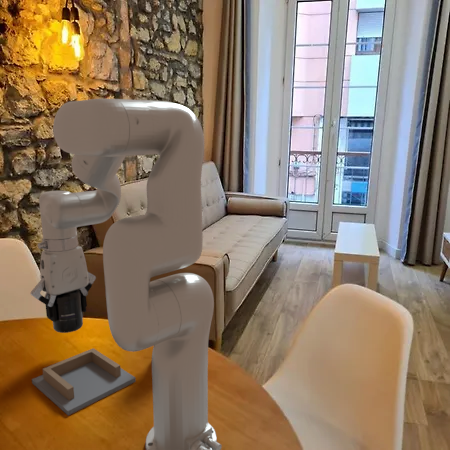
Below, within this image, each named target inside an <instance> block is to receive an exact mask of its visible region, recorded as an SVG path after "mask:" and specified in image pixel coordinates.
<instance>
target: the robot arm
mask: <svg viewBox="0 0 450 450" xmlns="http://www.w3.org/2000/svg"><path fill="white" fill-rule="evenodd" d="M52 128H53V129H52V131H53V137H54V141H55V142H56V144H57V146H58V147H59V148H60V150H62V151H63V152H65V153H68V154H70V155H73V157H72V160H71V168H72V172H73V174H75V176H76V177H77V178H78V179H79V180H80V182H82V183H84V184H85V185H88V186H89V187H92V188H95V190H87V191H78V192H70V191H68V190H51V191H45V192H43V193H40V196H39V199H38V201H39V202H38V203H39V210H40V212H39V213H40V221H41V222H40V223H41V231H42V241H41V242H39V243H37V247H38V249H39V250H42V251H41V255H40V264H39V265H40V270H39V274H40V275H39V277H40V278H39V279H40V280H39V281H38V283H37V284H36V285H35V286H34V288H33V289H32V290H31V292H30V295H31V296H32V297H33V298H35V299H37V301H38V302H39V301H40V302H41V304H42V303H43V304H44V305H45V313H46V318H47V319H49V320H50V322H52V323H53V322H56V321H57V312H56V306H55V305H54V301H55V298H56V295H60V294H64V293H67V292H71V291H74V290H79V291H80V293H81V303H82V313H85V312H87V306H88V304H87V303H88V302H87V296H88V295H89V291H90V290H91V288H92V286H93V284H94V282H95V281H96V279H97V277H96V275H94V274H93V273H91V272H89V271H88V267H87V262H86V261H87V260H86V257H85V254H84V251H83V247H82V246H79V241H78V229H77V228H78V227H83V226H84V227H85V226H90V225H97V224H102V223H105V222H107V221H108V220H109V219H110V218H111V217H112V216H113V215H114V213H115V211H116V210H117V208H118V207H119V205H120V203H121V198H122V186H121V182H120V179H119V177H118V175H117V173H118V171H119V169H120V167H121V166H122V164H123V162H124V161H125V159H126V157H127V156H128V157H129V156H130V157H131V156H132V157H133V156H147V155H158V156H159V157H158V158H157V159H156V161H155V162H154V164H153V166H152V168H151V170H150V173H149V175H148V178H147V181H146V201H147V205H146V206H147V207H146V211H145V213H144V214H139V215H134V216H127V217H124V218H122V219H119V220H117V221H115V222H114V223H112V224H111V225H110V227H109V228H108V230H107V231H106V232H105V236H104V240H103V245H102V261H103V273H104V274H103V275H104V286H105V287H104V288H105V289H104V290H105V298H106V299H105V300H106V303H105V304H106V312H107V321H108V325H109V326H108V327H109V330H110V334H111V336H112V339H113V340H114V342H115V343H116V344H117V346H118V347H120V348H121V349H122V350H124V351H126V352H133V353H134V352H140V351H142V350H145V349H149V348H152V347H153V349H152V354H151V378H152V379H151V380H152V381H151V382H152V407H153V409H152V410H153V411H152V412H153V426H152V427H151V428H150V430H149V432H148V433H147V434H146V437H145V450H222V446H223V445H222V444H221V443H219V442H218V441H217V438H218V437H217V433H216V430H215V428H214V427H213V426H212V425H211V424H210V423H209V416H208V415H209V406H208V405H209V404H208V403H209V400H208V397H209V396H208V395H209V392H208V391H209V387H208V385H209V384H208V382H209V381H208V380H209V379H208V378H209V375H208V374H209V371H208V370H209V368H208V365H209V337H210V332H211V331H210V330H211V325H212V320H213V315H214V309H215V308H214V306H215V302H214V301H215V299H214V298H215V297H214V293H213V290H212V288H211V286H210V284H209V282H208V281H207V280H206V279H205V278H204V277H202V276H200V275H199V274H196V273H193V272H179V273H175V274H172V275H168V276H165V277H161V278H158V279H154V280H152V281H151V278H153V277H156V276H157V277H158V276H161V275H163V274H167V273H170V272H171V273H172V272H175V271H177V270H180V269H184V268H187V267H189V266H191V265H194V264H195V263H197V261H199V259H200V258H201V256H202V252H203V207H202V206H203V205H202V200H203V199H202V172H203V164H204V156H205V135H204V134H205V133H204V130H203V127H202V124H201V122H200V120H199V118H198V117H197V115H196V114H195V113H194V111H192V110H191V109H189V108H188V107H187V106H184V105H182V104H179V103H175V102H171V101H164V100H154V99H153V100H152V99H151V100H149V99H127V98H125V99H124V98H91V99H83V100H82V99H81V100H73V101H71V100H70V101H67V102H66V103H63V104H62V105H61V107H59V108H58V110H57V112H56V114H55V117H54V120H53V126H52ZM42 292H45V295H42V294H41V293H42Z"/></svg>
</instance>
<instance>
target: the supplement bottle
mask: <svg viewBox="0 0 450 450" xmlns="http://www.w3.org/2000/svg"><path fill="white" fill-rule="evenodd" d="M54 305H55V306H56V312H57V321H56V322H53V321H52V325H53V330H54V331H56V333H62V334H68V333H73V332H76V331H78V330H80V329H81V328H82V327H83V326H84V325H83V323H84V321H83V318H84V317H83V312H82V303H81V293H80V291H79V290H74V291H71V292H67V293H64V294H60V295H56V298H55V301H54Z"/></svg>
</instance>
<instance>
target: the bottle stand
mask: <svg viewBox="0 0 450 450" xmlns="http://www.w3.org/2000/svg"><path fill="white" fill-rule="evenodd" d="M136 381H137V380H136V377H135V375H133V374H131V373H129V372H128V371H127V370H124V368H122V367H121V365H120V364H119V363H117V362H115V361H114V360H112V359H111V358H109V357H108V356H107V355H104V354H103V353H101V352H100V351H98V350H97V349H96V348H91V349H88V350H85V351H83V352H80V353H78V354H75V355H73V356H70V357H68V358H65V359H64V360H61V361H58V362H55V363H53V364H51V365H48V366H45V367H44V368H42V375H38V376H36V377H33V378H31V383H32V385H33V386H35V388H37V389H38V390H39V391H40V392H41V393H42V394H43V395H44V396H46V397H47V398H48V399H50V401H51V402H53V403H54V405H56V406H57V407H58V408H59V409H60V410H61V411H63V413H65V414H66V415H67V416H70V415H72V414H74V413H77V412H78V411H80V410H82V409H84V408H86V407H88V406H91V405H92V404H94V403H96V402H98V401H100V400H102V399H104V398H105V397H107V396H110V395H112V394H113V393H116V392H118V391H120V390H122V389H124V388H126V387H128V386H129V385H132V384H133V383H136Z"/></svg>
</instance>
